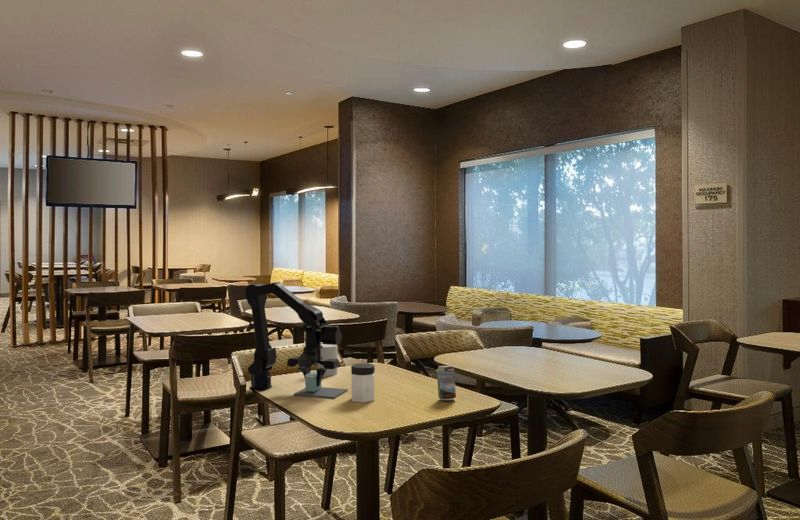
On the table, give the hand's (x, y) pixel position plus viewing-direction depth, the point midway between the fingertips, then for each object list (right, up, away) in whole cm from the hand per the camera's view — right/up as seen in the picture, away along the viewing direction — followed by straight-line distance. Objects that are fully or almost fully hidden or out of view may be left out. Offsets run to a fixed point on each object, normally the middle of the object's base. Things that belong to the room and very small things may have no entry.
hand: (313, 386), depth 222 cm
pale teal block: (0, -1, 0) cm, 1 cm away
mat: (+3, -2, -1) cm, 4 cm away
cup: (+2, -2, +31) cm, 31 cm away
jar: (+19, -3, -10) cm, 22 cm away
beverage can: (+48, -3, -11) cm, 49 cm away
